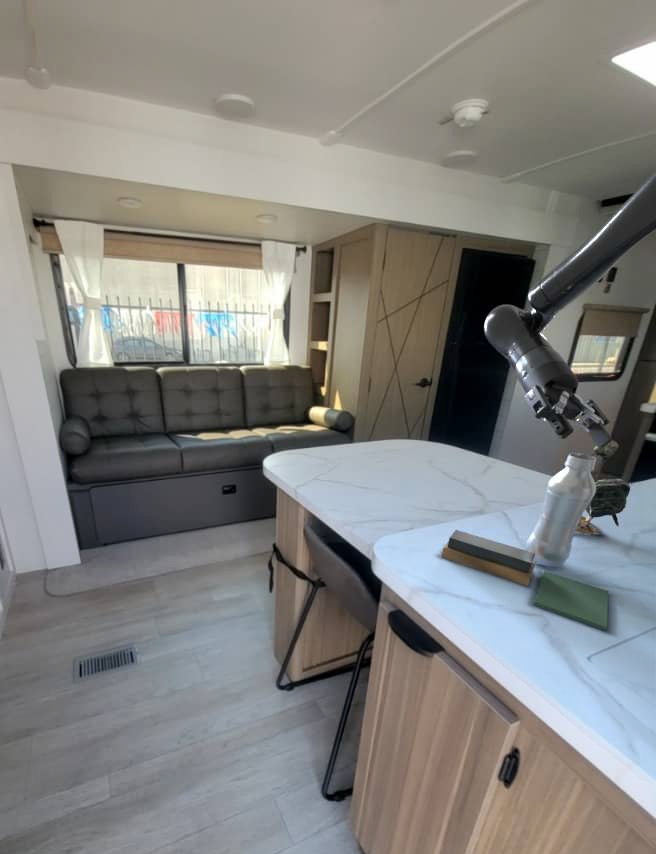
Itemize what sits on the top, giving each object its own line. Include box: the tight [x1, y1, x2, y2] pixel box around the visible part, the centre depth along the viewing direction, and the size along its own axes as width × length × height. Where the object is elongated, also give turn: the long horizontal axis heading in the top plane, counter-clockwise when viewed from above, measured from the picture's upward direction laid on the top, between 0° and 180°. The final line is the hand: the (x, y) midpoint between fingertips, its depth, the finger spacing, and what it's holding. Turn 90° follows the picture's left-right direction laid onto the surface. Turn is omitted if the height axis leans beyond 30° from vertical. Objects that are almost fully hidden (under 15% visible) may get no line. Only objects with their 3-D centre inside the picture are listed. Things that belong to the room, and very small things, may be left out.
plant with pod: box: [574, 439, 634, 536], centre depth 81 cm, size 8×11×20 cm
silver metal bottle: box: [524, 452, 597, 568], centre depth 69 cm, size 6×7×20 cm
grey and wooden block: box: [440, 529, 536, 587], centre depth 71 cm, size 14×5×4 cm, turn 53°
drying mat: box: [533, 570, 609, 631], centre depth 64 cm, size 9×11×1 cm
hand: (586, 439), depth 67 cm, fingers open, 8 cm apart
